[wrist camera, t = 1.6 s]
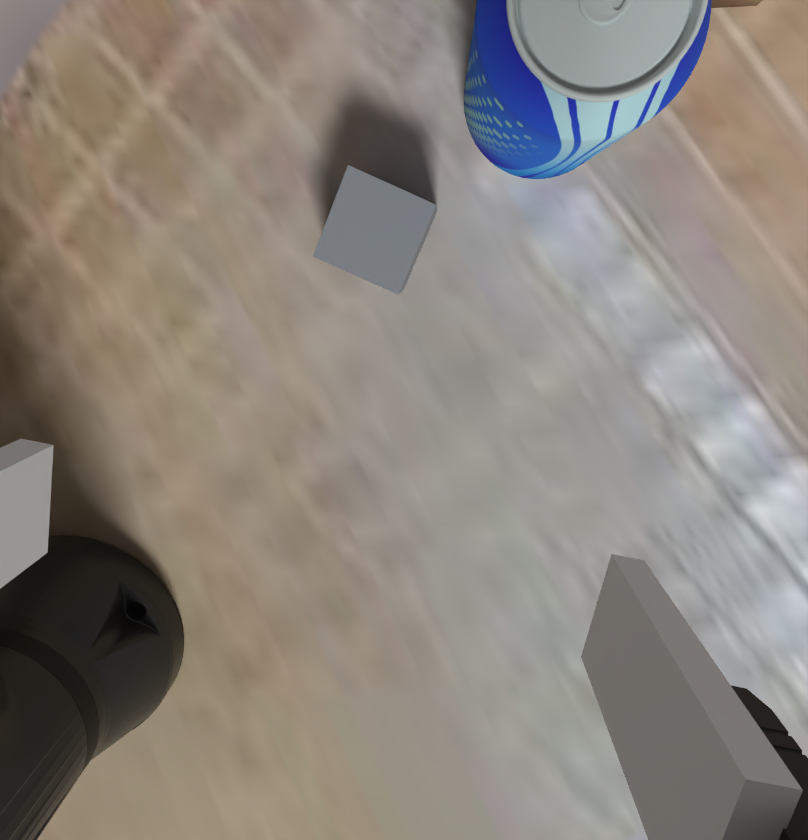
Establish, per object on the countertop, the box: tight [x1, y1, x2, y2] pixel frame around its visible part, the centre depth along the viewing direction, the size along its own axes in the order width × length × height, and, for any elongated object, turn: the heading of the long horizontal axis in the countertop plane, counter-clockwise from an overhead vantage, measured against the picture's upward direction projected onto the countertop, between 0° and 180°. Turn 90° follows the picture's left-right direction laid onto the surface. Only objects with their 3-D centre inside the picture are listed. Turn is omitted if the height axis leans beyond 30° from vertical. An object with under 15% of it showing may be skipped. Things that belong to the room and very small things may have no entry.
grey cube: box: [313, 165, 437, 294], centre depth 37 cm, size 5×5×5 cm
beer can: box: [464, 0, 711, 179], centre depth 29 cm, size 8×8×16 cm
